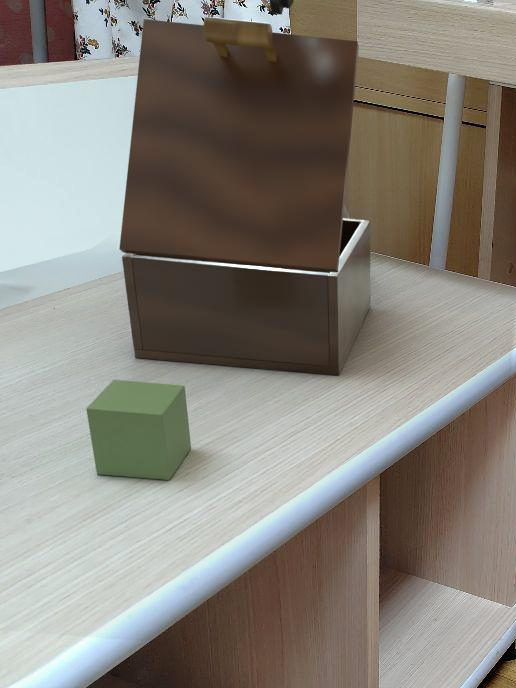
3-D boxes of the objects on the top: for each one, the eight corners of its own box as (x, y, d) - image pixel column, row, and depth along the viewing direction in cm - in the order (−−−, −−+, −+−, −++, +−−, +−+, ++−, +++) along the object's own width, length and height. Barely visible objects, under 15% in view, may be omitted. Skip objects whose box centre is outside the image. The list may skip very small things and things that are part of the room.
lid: (146, 24, 82) (124, -13, 77) (358, 46, 83) (350, 11, 78) (122, 252, 81) (98, 230, 76) (338, 272, 82) (328, 251, 77)
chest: (198, 291, 101) (190, 203, 97) (370, 307, 102) (370, 220, 97) (134, 357, 85) (121, 256, 81) (338, 375, 86) (337, 276, 82)
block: (96, 474, 68) (85, 408, 65) (122, 442, 72) (113, 379, 70) (169, 480, 68) (162, 414, 66) (191, 448, 72) (185, 385, 70)
